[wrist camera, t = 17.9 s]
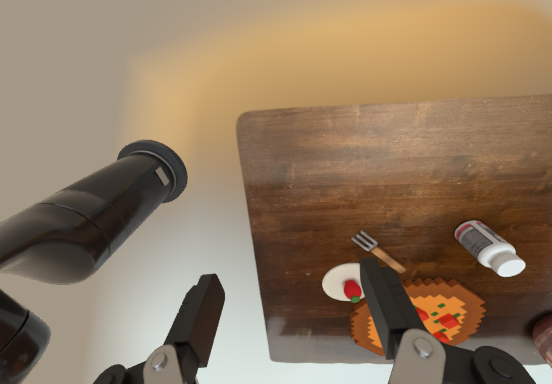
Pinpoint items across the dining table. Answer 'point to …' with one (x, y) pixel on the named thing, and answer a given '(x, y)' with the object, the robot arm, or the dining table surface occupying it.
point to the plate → (341, 280)
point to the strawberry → (352, 291)
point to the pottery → (544, 338)
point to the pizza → (427, 313)
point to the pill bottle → (489, 248)
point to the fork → (379, 252)
